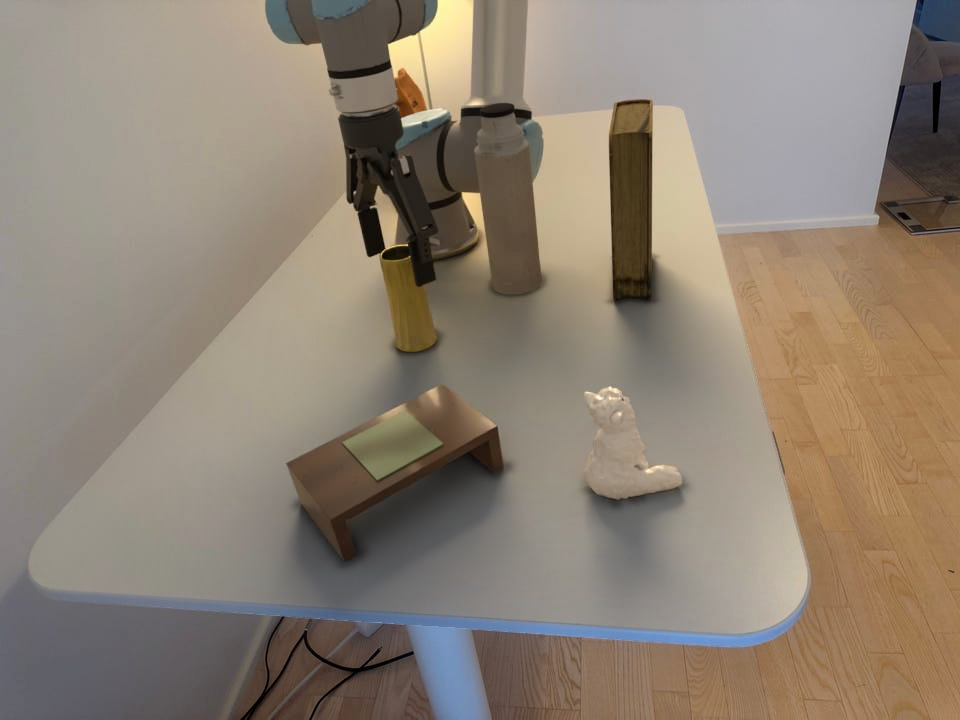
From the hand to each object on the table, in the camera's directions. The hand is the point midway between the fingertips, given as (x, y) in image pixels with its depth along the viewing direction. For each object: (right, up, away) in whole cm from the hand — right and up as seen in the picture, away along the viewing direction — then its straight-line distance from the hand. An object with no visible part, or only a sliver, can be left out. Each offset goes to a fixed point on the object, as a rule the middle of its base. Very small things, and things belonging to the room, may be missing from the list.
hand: (400, 267), depth 98 cm
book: (+35, 0, +15) cm, 38 cm away
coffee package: (-4, +32, +71) cm, 78 cm away
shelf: (+2, -27, -18) cm, 32 cm away
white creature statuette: (+26, -26, -22) cm, 43 cm away
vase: (+2, -10, +7) cm, 12 cm away
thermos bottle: (+17, 0, +18) cm, 25 cm away
